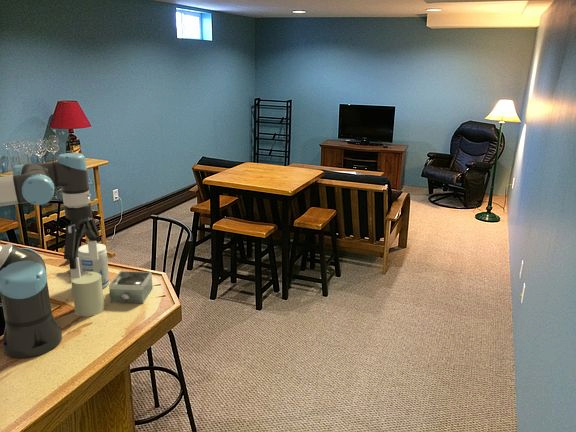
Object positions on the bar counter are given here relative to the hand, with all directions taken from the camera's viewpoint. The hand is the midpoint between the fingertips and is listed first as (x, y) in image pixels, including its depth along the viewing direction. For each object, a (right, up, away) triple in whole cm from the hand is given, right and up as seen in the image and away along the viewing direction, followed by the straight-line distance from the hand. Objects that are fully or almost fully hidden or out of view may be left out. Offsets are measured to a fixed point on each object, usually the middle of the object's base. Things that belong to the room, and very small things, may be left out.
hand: (85, 268), depth 151 cm
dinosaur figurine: (-16, -5, +31) cm, 36 cm away
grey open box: (+10, -11, +14) cm, 21 cm away
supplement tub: (-5, -9, +21) cm, 23 cm away
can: (-1, -14, +5) cm, 15 cm away
